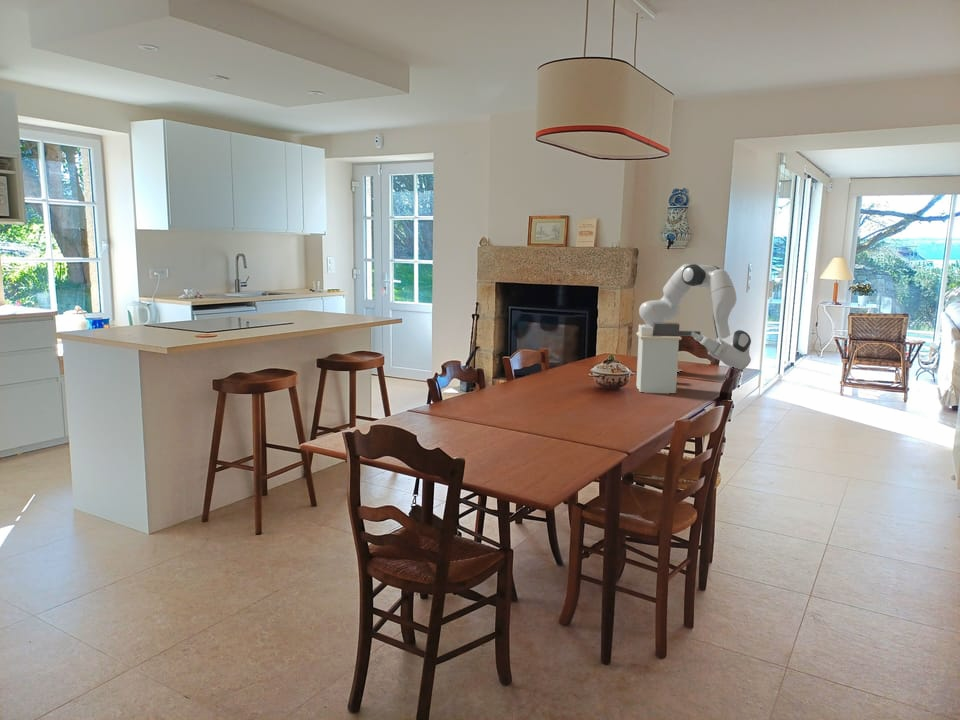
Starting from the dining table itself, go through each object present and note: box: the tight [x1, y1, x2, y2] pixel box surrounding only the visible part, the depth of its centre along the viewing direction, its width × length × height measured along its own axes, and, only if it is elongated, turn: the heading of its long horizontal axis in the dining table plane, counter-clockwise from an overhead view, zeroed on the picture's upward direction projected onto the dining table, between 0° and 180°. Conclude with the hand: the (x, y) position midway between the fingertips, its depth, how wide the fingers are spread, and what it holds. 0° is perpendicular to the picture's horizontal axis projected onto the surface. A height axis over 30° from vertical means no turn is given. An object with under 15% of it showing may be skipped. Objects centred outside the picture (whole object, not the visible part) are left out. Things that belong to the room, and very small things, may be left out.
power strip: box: [637, 323, 653, 336], centre depth 317 cm, size 5×12×4 cm, turn 174°
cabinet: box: [635, 331, 683, 394], centre depth 318 cm, size 18×18×26 cm
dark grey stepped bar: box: [652, 321, 701, 337], centre depth 315 cm, size 24×7×6 cm, turn 84°
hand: (690, 332), depth 314 cm, fingers closed on dark grey stepped bar, 2 cm apart
